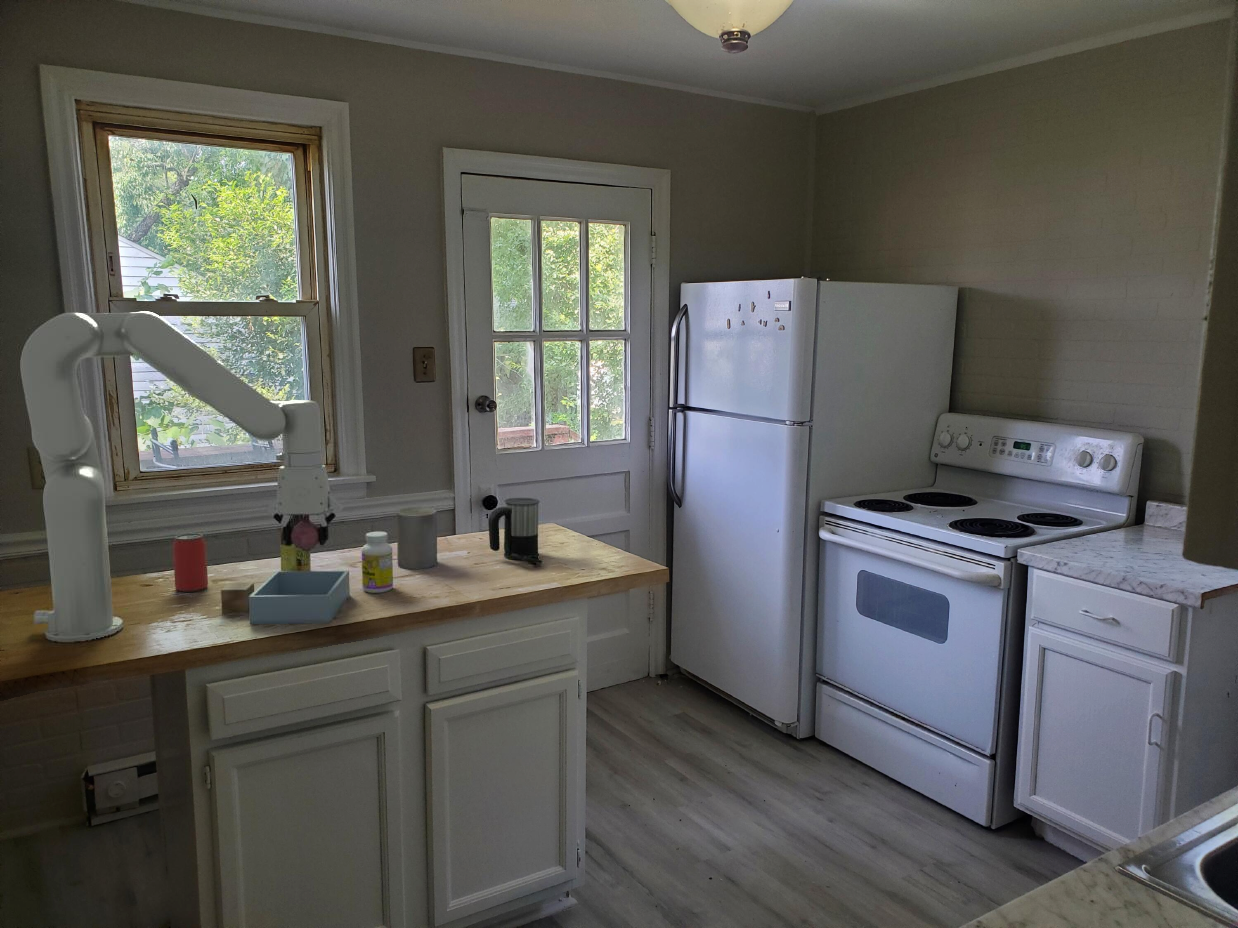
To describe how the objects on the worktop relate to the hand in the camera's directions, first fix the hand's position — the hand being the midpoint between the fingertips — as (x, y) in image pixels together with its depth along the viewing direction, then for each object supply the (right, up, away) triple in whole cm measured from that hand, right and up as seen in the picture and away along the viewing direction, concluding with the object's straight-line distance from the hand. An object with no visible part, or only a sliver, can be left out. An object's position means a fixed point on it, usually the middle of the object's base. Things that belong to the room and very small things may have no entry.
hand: (306, 543), depth 185 cm
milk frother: (+42, -8, +39) cm, 58 cm away
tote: (0, -14, -2) cm, 14 cm away
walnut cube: (-13, -14, -3) cm, 19 cm away
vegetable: (0, -2, 0) cm, 2 cm away
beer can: (-29, -11, +10) cm, 33 cm away
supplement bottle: (+12, -12, +12) cm, 20 cm away
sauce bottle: (-6, -12, +11) cm, 17 cm away
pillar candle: (+16, -9, +33) cm, 38 cm away
